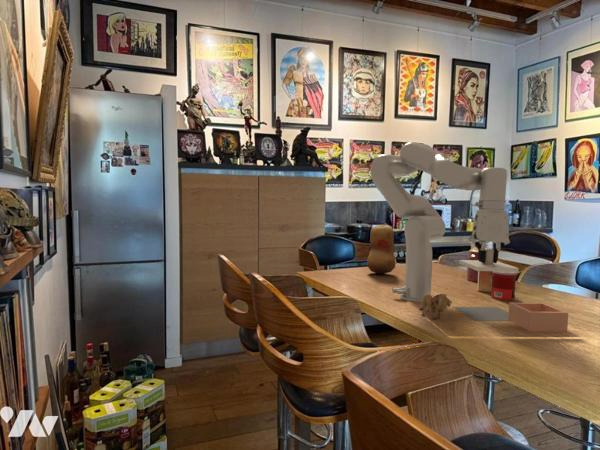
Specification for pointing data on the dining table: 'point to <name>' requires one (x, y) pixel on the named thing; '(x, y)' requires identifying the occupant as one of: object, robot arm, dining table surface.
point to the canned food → (503, 285)
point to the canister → (471, 273)
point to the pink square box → (538, 317)
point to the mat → (484, 313)
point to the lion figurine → (435, 304)
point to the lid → (488, 264)
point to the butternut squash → (381, 250)
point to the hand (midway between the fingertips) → (487, 261)
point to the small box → (485, 281)
